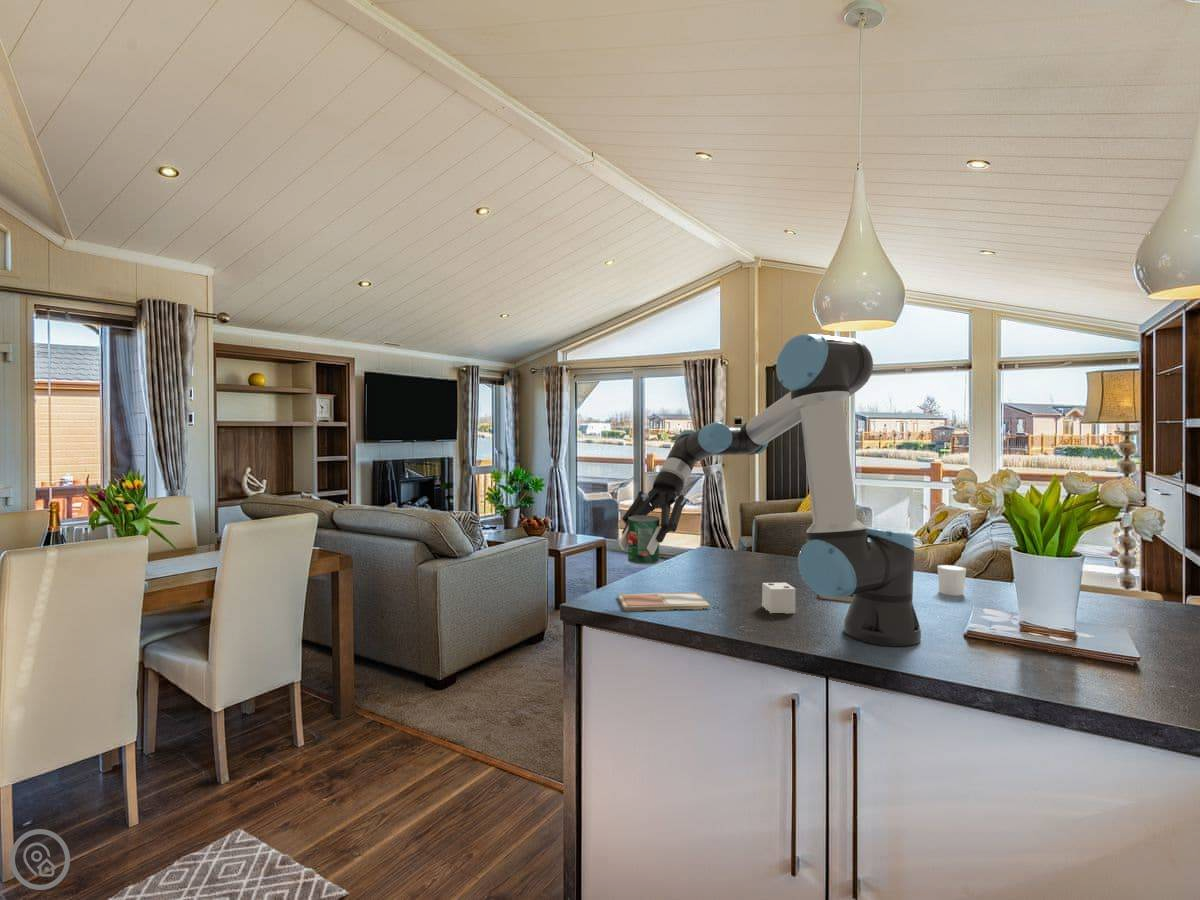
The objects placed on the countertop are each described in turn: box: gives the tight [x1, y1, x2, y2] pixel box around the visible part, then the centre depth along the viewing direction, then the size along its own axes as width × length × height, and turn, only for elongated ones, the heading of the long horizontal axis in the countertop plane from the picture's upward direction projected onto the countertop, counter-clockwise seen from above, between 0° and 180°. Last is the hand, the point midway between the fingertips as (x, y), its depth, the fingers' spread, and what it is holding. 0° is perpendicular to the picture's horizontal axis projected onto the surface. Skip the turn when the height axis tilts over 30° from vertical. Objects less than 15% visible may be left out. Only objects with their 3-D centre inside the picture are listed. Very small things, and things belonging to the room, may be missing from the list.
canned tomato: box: [627, 514, 661, 566], centre depth 160 cm, size 8×8×11 cm
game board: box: [617, 591, 711, 612], centre depth 161 cm, size 12×21×1 cm, turn 96°
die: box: [761, 582, 797, 614], centre depth 156 cm, size 6×6×6 cm
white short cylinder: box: [937, 564, 967, 597], centre depth 173 cm, size 7×7×7 cm
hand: (635, 548), depth 157 cm, fingers closed on canned tomato, 8 cm apart
